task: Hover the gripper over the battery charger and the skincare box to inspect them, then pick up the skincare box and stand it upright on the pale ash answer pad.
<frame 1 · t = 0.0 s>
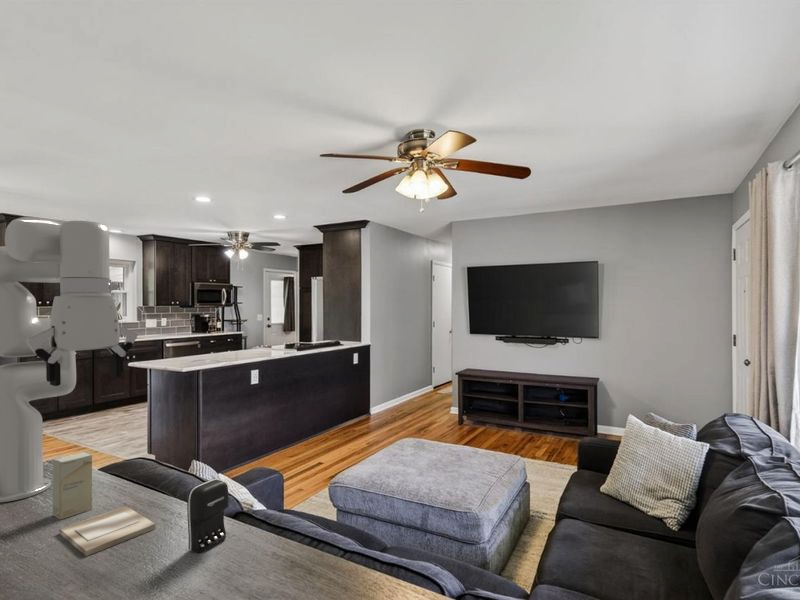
hand: (86, 381, 82), 31 cm above the table, fingers open, 9 cm apart
answer pad: (107, 531, 89), on the table
skincare box: (73, 513, 98), on the table
battery charger: (210, 546, 83), on the table
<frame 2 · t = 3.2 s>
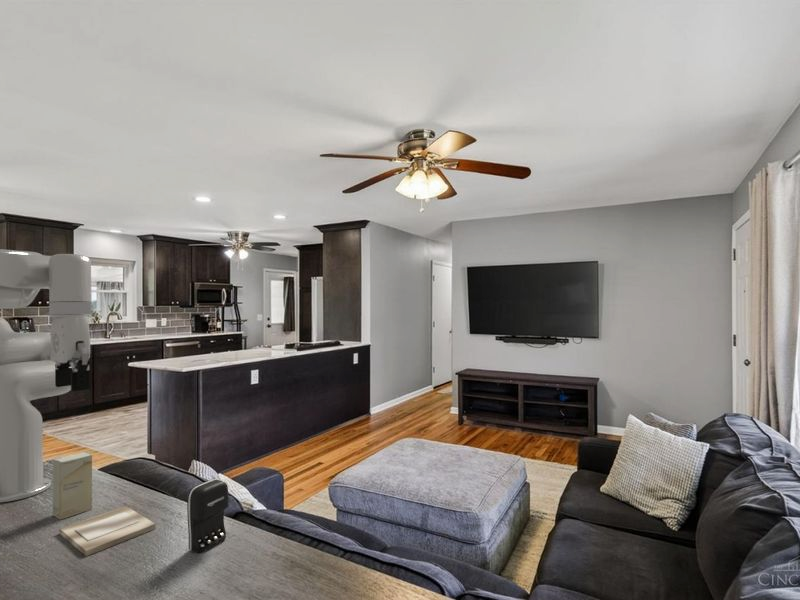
hand: (72, 388, 98), 27 cm above the table, fingers open, 9 cm apart
nothing on the table moved.
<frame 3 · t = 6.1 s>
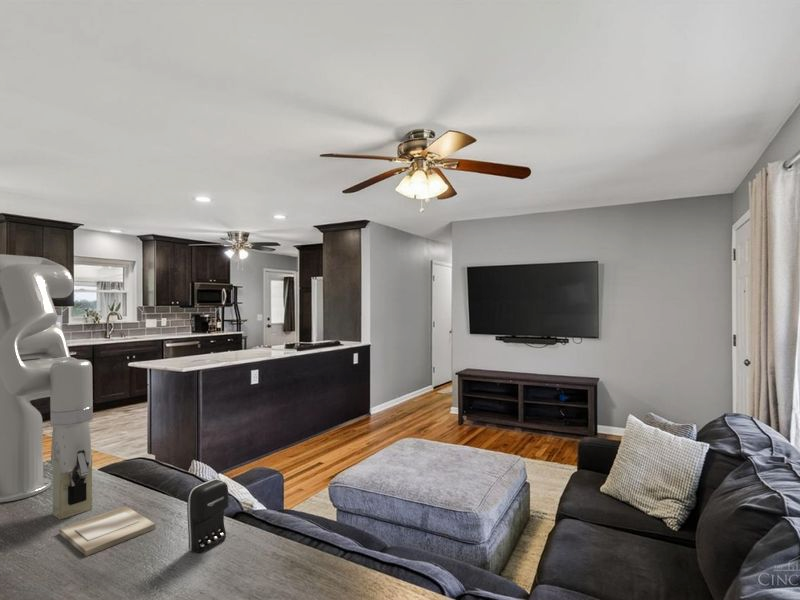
hand: (73, 498, 98), 3 cm above the table, fingers closed on skincare box, 4 cm apart
skincare box: (73, 512, 98), on the table, touching gripper
everything else where it was.
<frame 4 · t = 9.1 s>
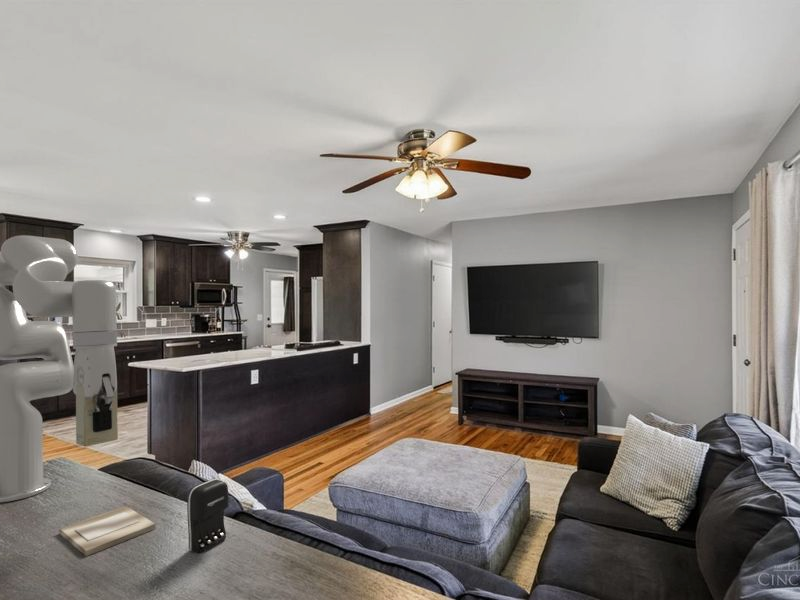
hand: (97, 428, 91), 20 cm above the table, fingers closed on skincare box, 4 cm apart
skincare box: (97, 443, 91), point 17 cm above the table, touching gripper
everything else where it was.
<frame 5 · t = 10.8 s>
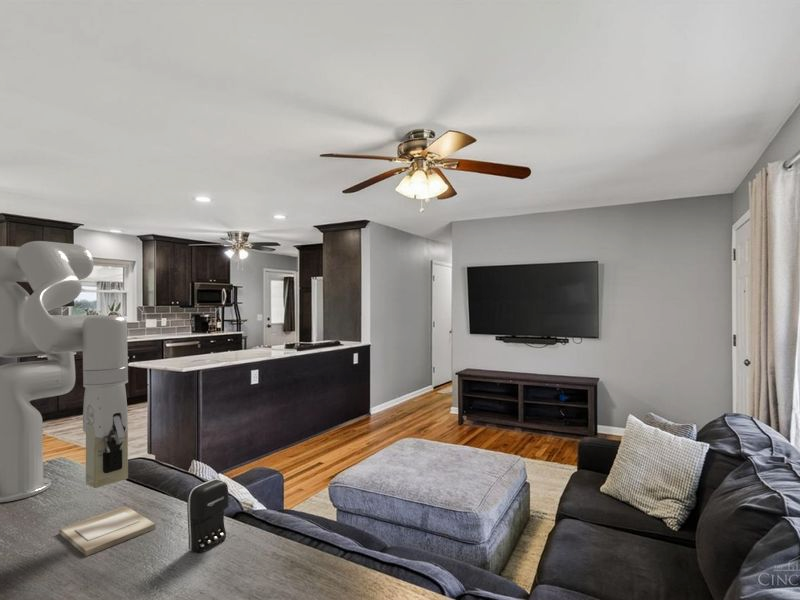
hand: (107, 467, 89), 13 cm above the table, fingers closed on skincare box, 4 cm apart
skincare box: (107, 482, 89), point 10 cm above the table, touching gripper
everything else where it was.
when the fingers open (5 cm above the table, at t = 12.4 s): skincare box drops 1 cm, resting on answer pad.
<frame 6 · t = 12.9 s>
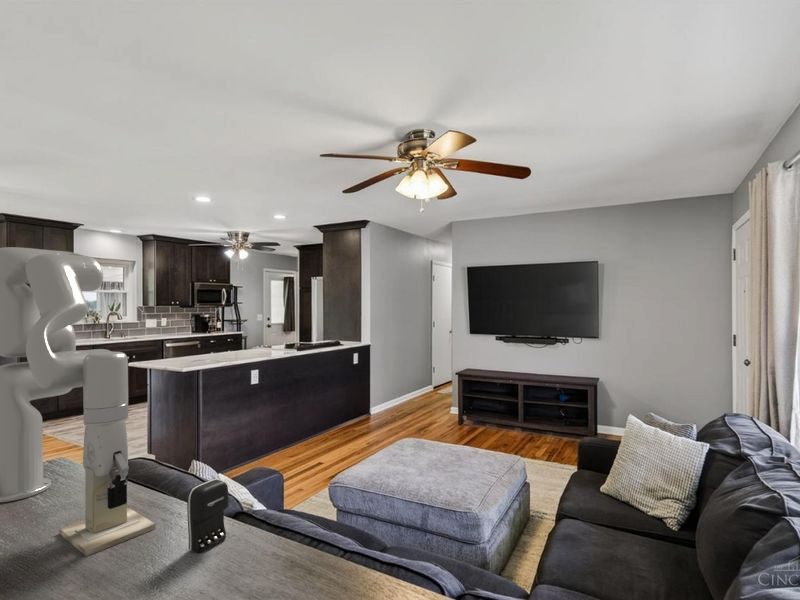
hand: (107, 499, 89), 6 cm above the table, fingers open, 9 cm apart
skincare box: (106, 525, 89), point 1 cm above the table, touching answer pad
everything else where it was.
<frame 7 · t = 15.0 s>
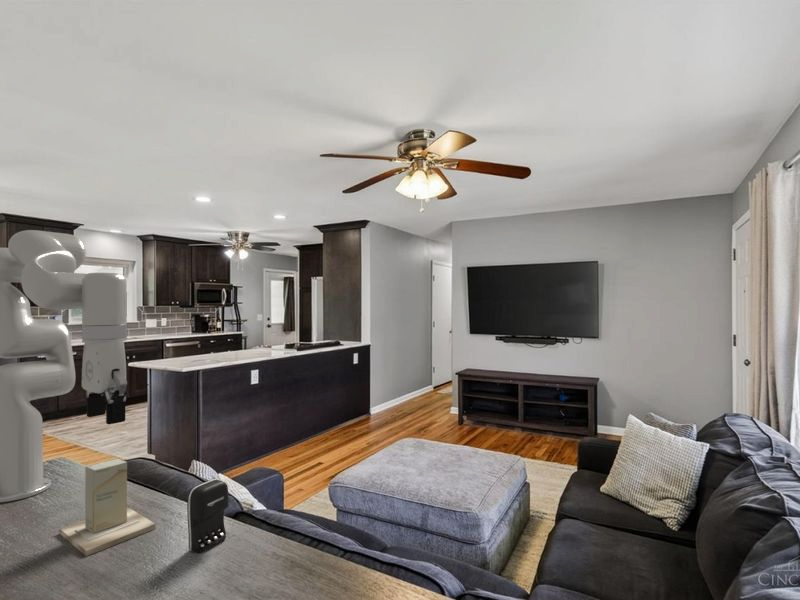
hand: (105, 419, 89), 22 cm above the table, fingers open, 9 cm apart
nothing on the table moved.
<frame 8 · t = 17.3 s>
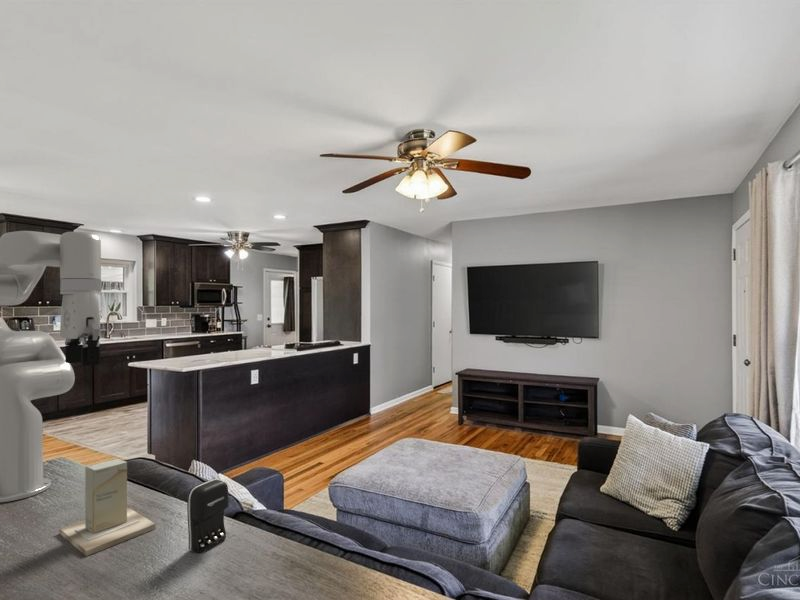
hand: (82, 363, 100), 32 cm above the table, fingers open, 9 cm apart
nothing on the table moved.
at the end: skincare box inside the target area on the answer pad (0.4 cm from its centre), point 1.0 cm above the answer pad's base; skincare box tilted 0°; the gripper is holding nothing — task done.
